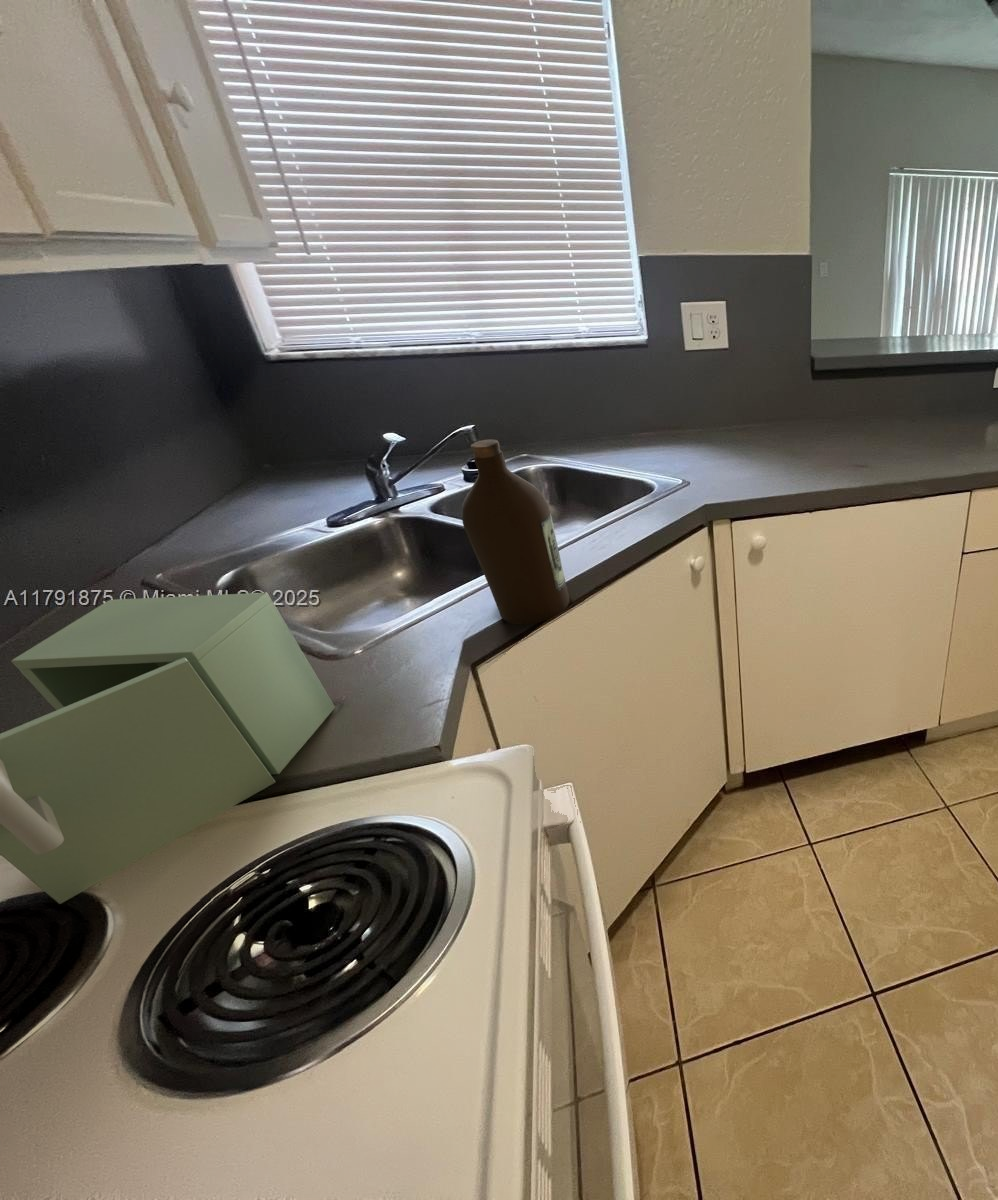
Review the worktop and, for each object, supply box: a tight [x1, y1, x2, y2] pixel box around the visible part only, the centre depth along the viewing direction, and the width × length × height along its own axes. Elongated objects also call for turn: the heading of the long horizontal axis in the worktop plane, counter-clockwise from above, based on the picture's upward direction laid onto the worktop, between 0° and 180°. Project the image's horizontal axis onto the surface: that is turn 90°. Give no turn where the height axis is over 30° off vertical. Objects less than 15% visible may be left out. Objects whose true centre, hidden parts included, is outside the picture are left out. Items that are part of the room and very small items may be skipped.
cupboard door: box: [0, 658, 276, 905], centre depth 53 cm, size 7×16×17 cm, turn 144°
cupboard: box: [10, 592, 336, 776], centre depth 65 cm, size 10×16×17 cm, turn 92°
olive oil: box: [461, 439, 570, 626], centre depth 84 cm, size 11×11×25 cm
